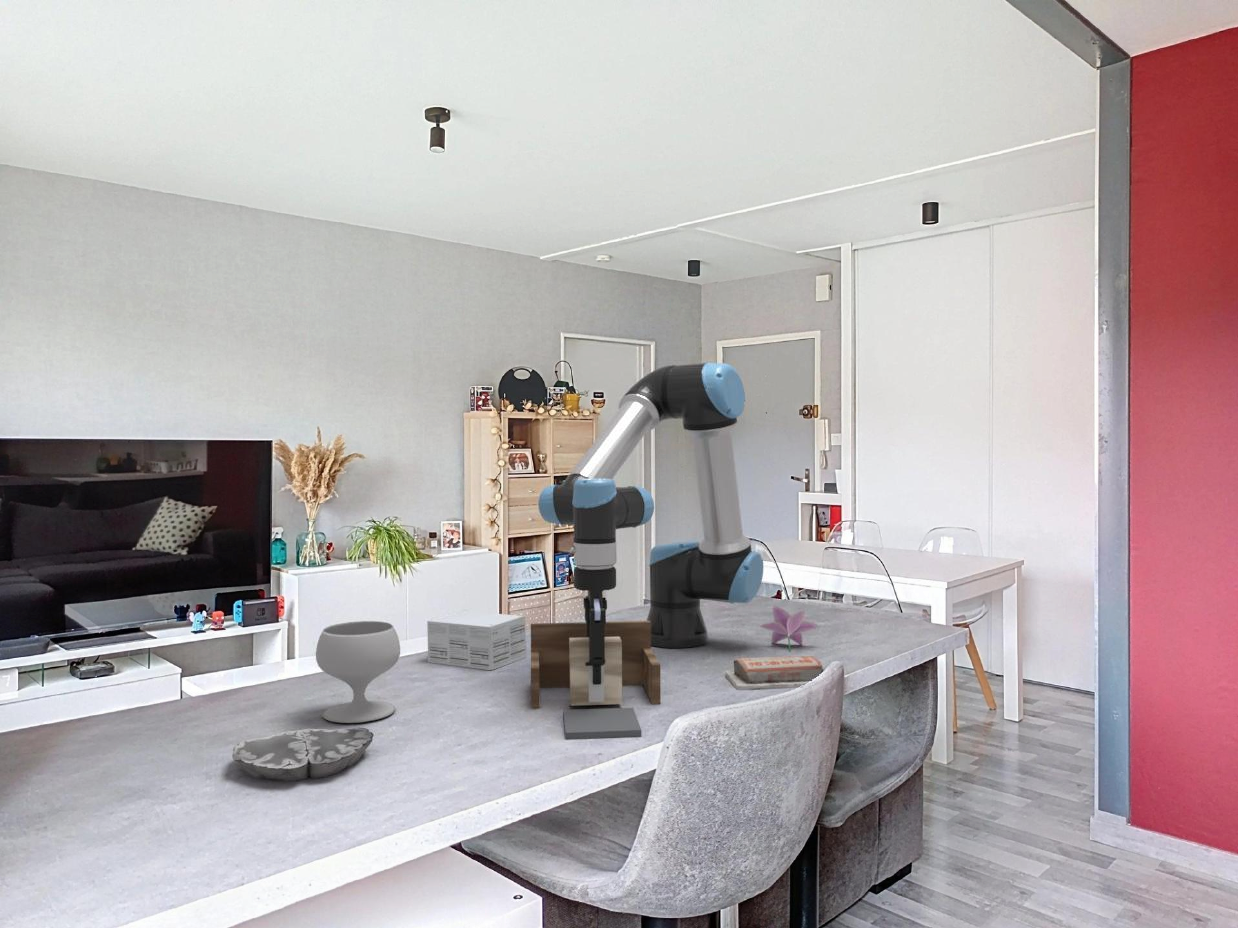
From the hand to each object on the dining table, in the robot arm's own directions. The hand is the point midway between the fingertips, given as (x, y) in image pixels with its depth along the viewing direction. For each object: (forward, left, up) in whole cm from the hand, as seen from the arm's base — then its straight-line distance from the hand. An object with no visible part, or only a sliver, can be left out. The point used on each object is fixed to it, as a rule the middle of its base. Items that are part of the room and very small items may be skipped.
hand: (595, 697), depth 157 cm
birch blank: (0, 0, -1) cm, 1 cm away
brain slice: (+24, -44, -2) cm, 50 cm away
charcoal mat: (+11, 0, -2) cm, 11 cm away
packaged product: (-12, +36, -2) cm, 38 cm away
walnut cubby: (-7, 0, -2) cm, 7 cm away
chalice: (0, -41, -2) cm, 41 cm away
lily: (-40, +47, -2) cm, 62 cm away
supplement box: (-37, -23, -2) cm, 43 cm away
